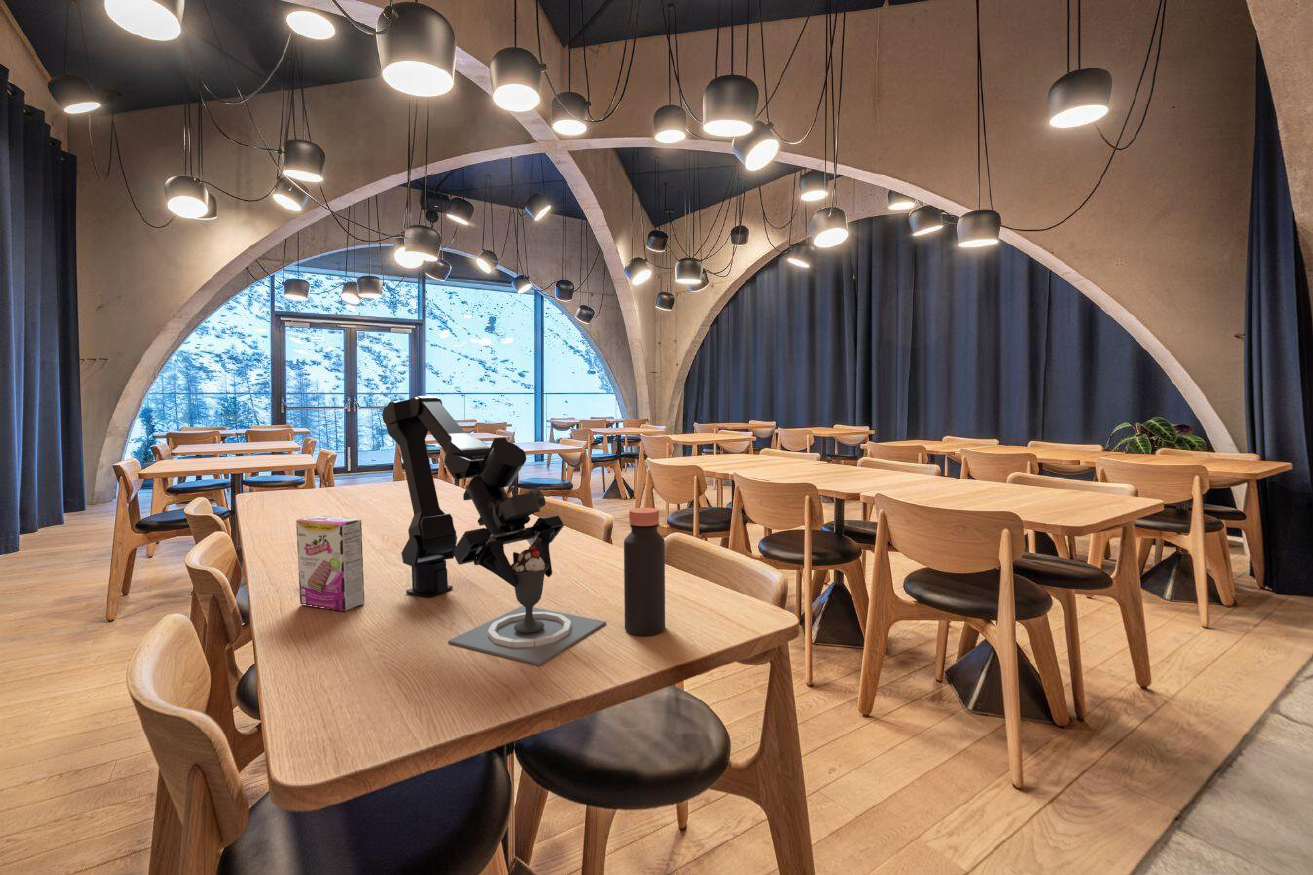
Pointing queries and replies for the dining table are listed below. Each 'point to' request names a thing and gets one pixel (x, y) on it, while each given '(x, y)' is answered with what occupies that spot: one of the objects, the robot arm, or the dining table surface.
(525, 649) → the ring mat
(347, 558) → the candy bar box
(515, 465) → the robot arm
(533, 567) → the sundae
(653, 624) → the bottle
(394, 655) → the dining table surface
